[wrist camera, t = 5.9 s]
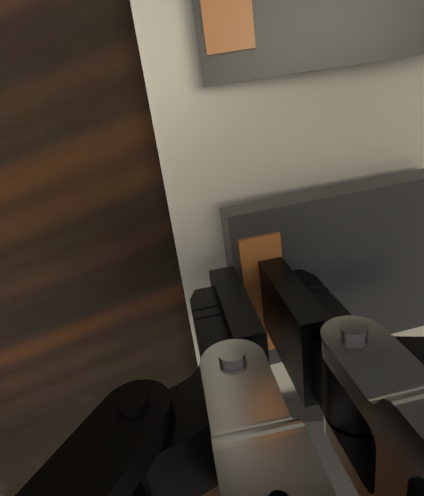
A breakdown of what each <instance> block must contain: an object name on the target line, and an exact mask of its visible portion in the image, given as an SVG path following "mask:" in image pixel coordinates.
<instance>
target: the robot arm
mask: <svg viewBox="0 0 424 496" xmlns="http://www.w3.org/2000/svg"><path fill="white" fill-rule="evenodd" d="M258 266H259V276H260V287H261V297H262V307H263V317H264V326H265V328H264V326H263V324H262V322H261V320H260V318H259V316H258V314H257V312H256V310H255V308H254V306H253V304H252V302H251V300H250V298H249V296H248V294H247V292H246V290H245V288H244V286H243V284H242V282H241V280H240V278H239V276H238V274H237V272H236V270H235V268H234V266H229V267H223V268H218V269H213V270H209V278H210V284H211V287H206V288H201V289H196V290H194V292H193V294H192V296H191V298H190V306H191V311H192V317H193V322H194V328H195V333H196V339H197V344H198V349H199V354H200V364H199V366H198V368H197V370H196V371H195V372H194V373H193V374H192V375H191V376H190V377H189V378H188V379H186V380H185V381H183V382H182V383H180V384H178V385H176V386H174V387H172V388H170V389H167V387H165V386H164V385H163V384H162V383H160V382H157V381H154V380H136V381H132V382H129V383H126V384H124V385H122V386H120V387H118V388H116V389H115V390H113V391H112V392H111V393H110V394H109V395H108V396H107V397H106V398H105V399H104V400H103V401H102V402H101V403H100V404H99V405H98V406H97V407H96V408H95V409H94V411H93V412H92V413H91V414H90V415H89V416H88V417H87V418H86V419H85V420H84V421H83V422H82V424H81V425H80V426H79V427H78V428H77V429H76V430H75V431H74V432H73V433H72V434H71V436H70V437H69V438H68V439H67V440H66V441H65V442H64V443H63V444H62V445H61V446H60V447H59V449H58V450H57V451H56V452H55V453H54V454H53V455H52V456H51V457H50V458H49V459H48V460H47V462H46V463H45V464H44V465H43V466H42V467H41V468H40V469H39V470H38V471H37V472H36V473H35V475H34V476H33V477H32V478H31V479H30V480H29V481H28V482H27V483H26V484H25V485H24V487H23V488H22V489H21V490H20V491H19V492H18V493H17V494H16V495H15V496H201V495H203V494H205V493H206V492H208V491H209V490H211V489H213V488H214V487H216V486H217V485H218V486H219V493H220V496H337V495H336V493H335V491H334V489H333V486H332V484H331V482H330V480H329V477H328V475H327V473H326V471H325V469H324V466H323V464H322V462H321V460H320V457H319V455H318V453H317V451H316V448H315V446H314V444H313V442H312V440H311V437H310V435H309V433H308V431H307V429H306V427H305V425H304V423H303V421H302V420H301V419H300V418H295V419H292V417H291V415H290V412H289V410H288V407H287V405H286V403H285V400H284V398H283V396H282V393H281V391H280V388H279V386H278V384H277V381H276V379H275V376H274V374H273V372H272V369H271V367H270V362H269V351H268V341H267V333H268V335H269V337H270V339H271V341H272V343H273V345H274V347H275V349H276V351H277V353H278V355H279V357H280V359H281V361H282V363H283V365H284V367H285V369H286V371H287V373H288V375H289V377H290V379H291V381H292V383H293V385H294V387H295V389H296V391H297V393H298V395H299V397H300V399H301V401H302V403H303V405H304V407H309V406H314V405H318V404H319V406H320V408H321V410H322V412H323V428H324V431H325V434H326V436H327V438H328V439H329V441H330V443H331V445H332V447H333V449H334V450H335V452H336V454H337V456H338V458H339V460H340V461H341V463H342V465H343V467H344V469H345V470H346V472H347V474H348V476H349V478H350V480H351V481H352V483H353V485H354V487H355V489H356V491H357V492H358V494H359V496H424V337H414V336H393V335H392V334H391V333H390V332H388V331H387V330H386V329H385V328H384V327H383V326H382V325H381V324H379V323H378V322H376V321H374V320H372V319H369V318H366V317H361V316H352V315H351V314H350V312H349V311H348V310H347V309H346V308H345V307H344V306H343V305H342V304H341V303H340V302H339V300H338V299H337V298H336V297H335V296H334V295H333V294H332V293H330V291H329V290H328V289H327V287H326V286H324V285H323V283H322V282H321V281H320V280H319V279H318V278H317V277H316V275H314V274H311V273H309V272H307V271H305V270H303V269H299V270H294V271H293V270H292V269H291V268H290V267H289V265H288V264H287V263H286V262H285V260H284V259H283V258H282V257H277V258H273V259H268V260H263V261H258ZM265 329H266V330H265ZM266 331H267V332H266Z"/></svg>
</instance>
